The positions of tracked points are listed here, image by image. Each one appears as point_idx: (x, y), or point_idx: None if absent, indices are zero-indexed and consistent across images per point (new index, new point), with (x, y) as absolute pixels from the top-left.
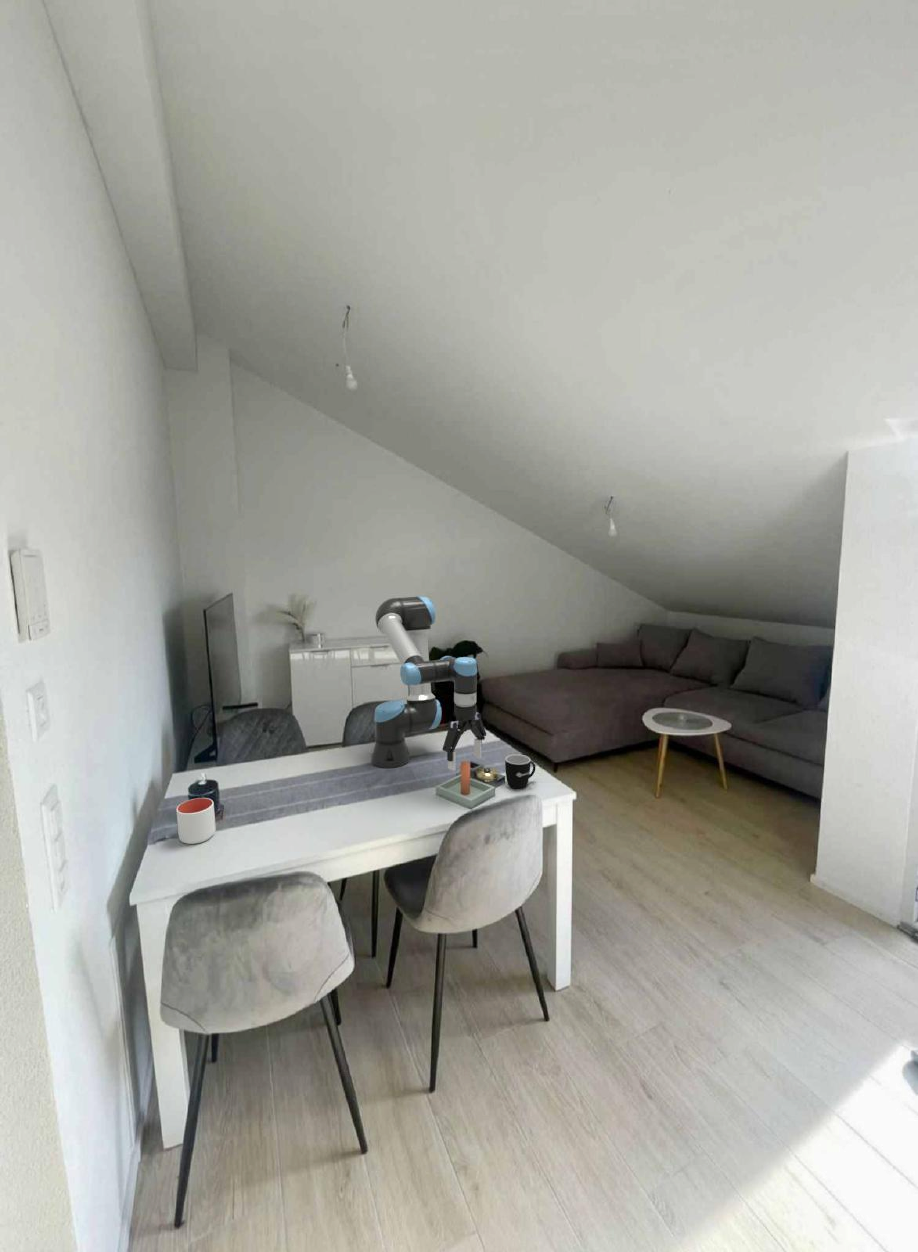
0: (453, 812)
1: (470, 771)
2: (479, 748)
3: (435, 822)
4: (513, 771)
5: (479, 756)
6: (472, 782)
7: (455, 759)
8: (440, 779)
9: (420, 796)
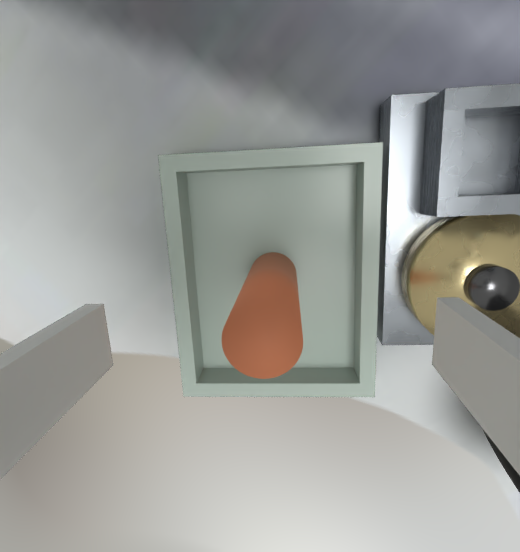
0: (124, 339)
1: (431, 191)
2: (479, 416)
3: (21, 340)
4: (518, 485)
5: (438, 367)
6: (359, 256)
7: (54, 422)
8: (322, 27)
9: (104, 114)
